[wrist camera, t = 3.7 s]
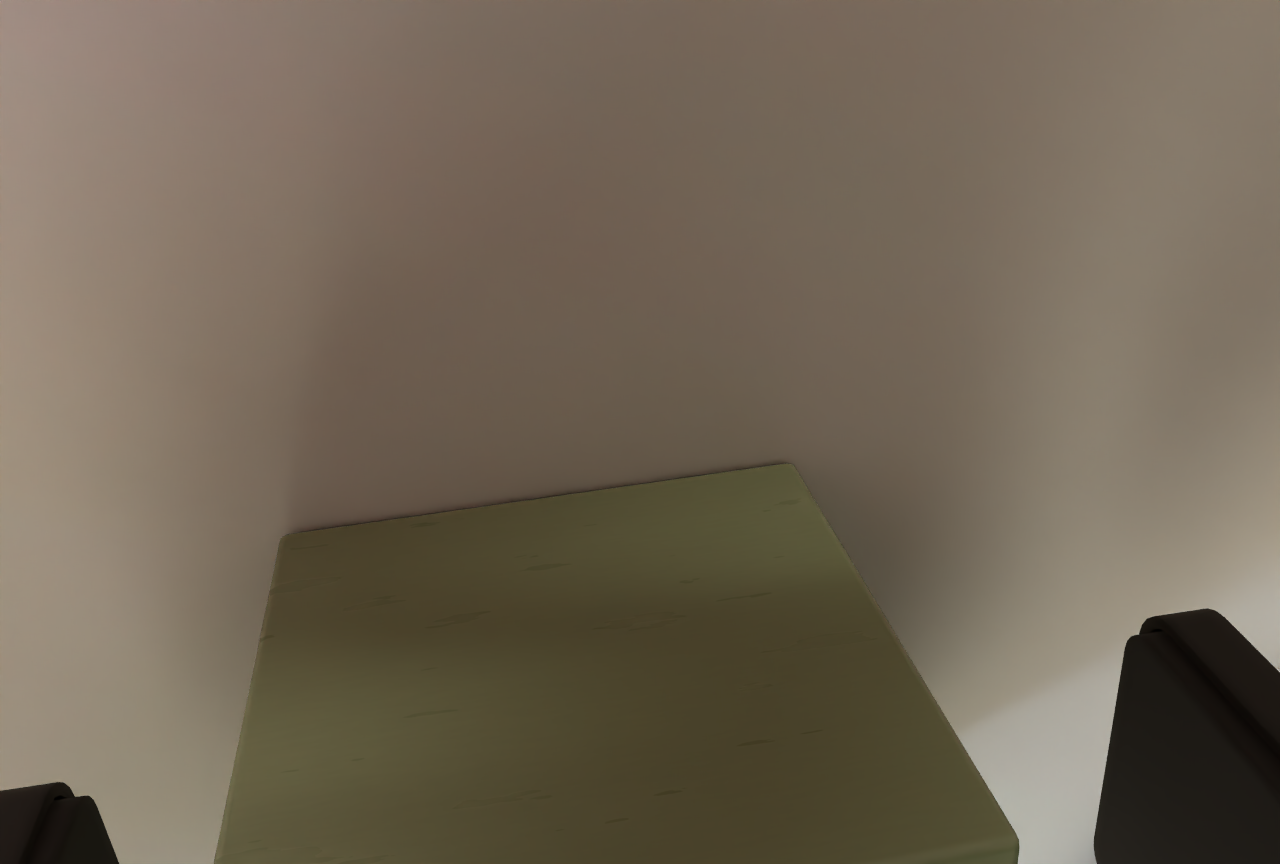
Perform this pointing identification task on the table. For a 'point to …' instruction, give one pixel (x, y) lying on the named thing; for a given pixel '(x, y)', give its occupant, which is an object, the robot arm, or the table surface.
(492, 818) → the tea block
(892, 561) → the table surface
